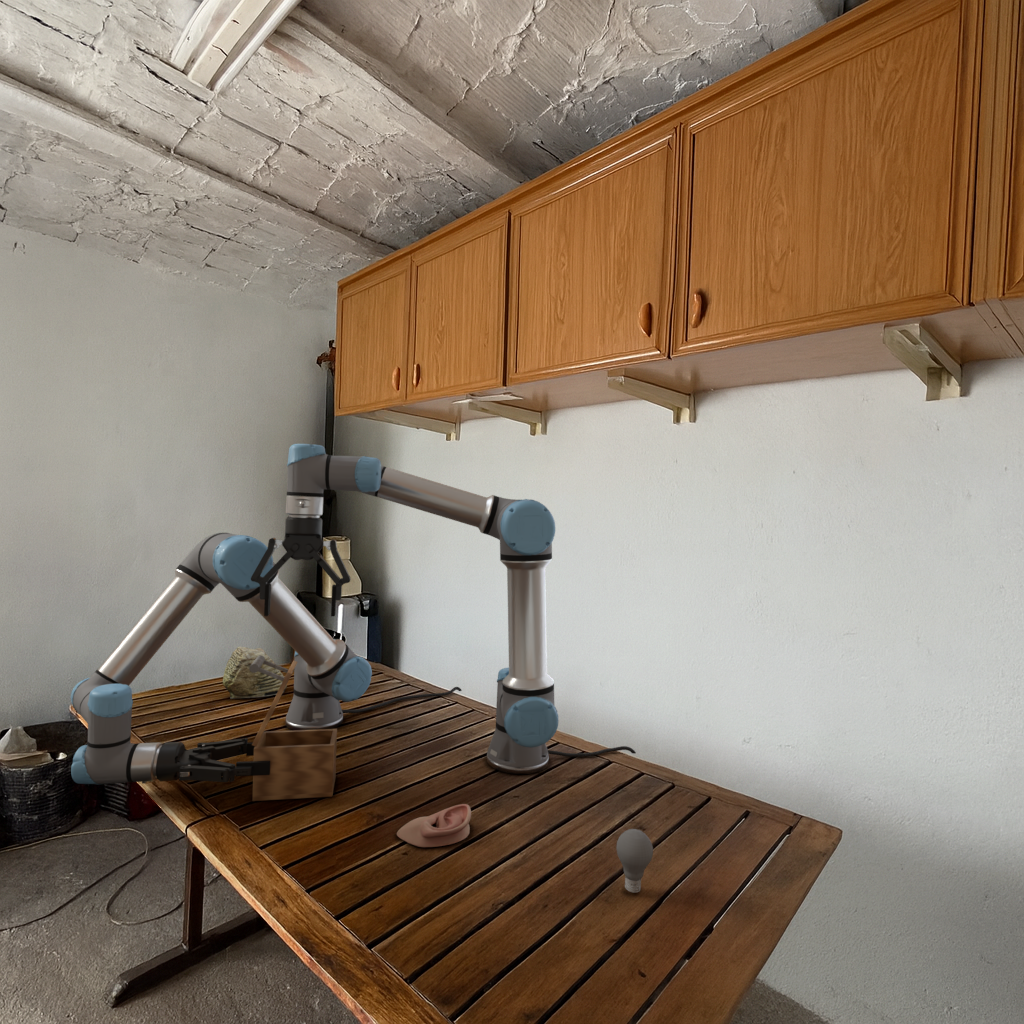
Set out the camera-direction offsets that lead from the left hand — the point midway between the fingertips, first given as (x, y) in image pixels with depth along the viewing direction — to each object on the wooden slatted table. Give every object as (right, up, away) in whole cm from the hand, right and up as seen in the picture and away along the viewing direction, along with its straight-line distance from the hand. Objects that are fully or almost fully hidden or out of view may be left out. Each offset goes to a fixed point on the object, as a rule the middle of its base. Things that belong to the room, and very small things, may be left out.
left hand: (274, 757), depth 136 cm
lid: (+1, +12, 0) cm, 12 cm away
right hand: (+6, +30, 0) cm, 31 cm away
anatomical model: (+36, -9, -15) cm, 40 cm away
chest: (+4, -7, +1) cm, 8 cm away
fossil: (-29, -5, +62) cm, 69 cm away
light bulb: (+71, -11, -30) cm, 78 cm away
